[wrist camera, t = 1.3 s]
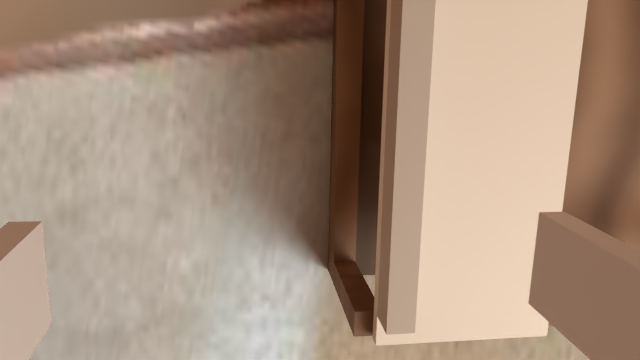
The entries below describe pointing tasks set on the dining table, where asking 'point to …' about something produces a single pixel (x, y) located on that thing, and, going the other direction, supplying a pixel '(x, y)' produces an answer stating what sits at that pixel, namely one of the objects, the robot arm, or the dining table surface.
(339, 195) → the wooden organizer rack
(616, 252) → the robot arm
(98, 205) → the dining table surface
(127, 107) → the dining table surface
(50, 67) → the dining table surface
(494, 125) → the lid
